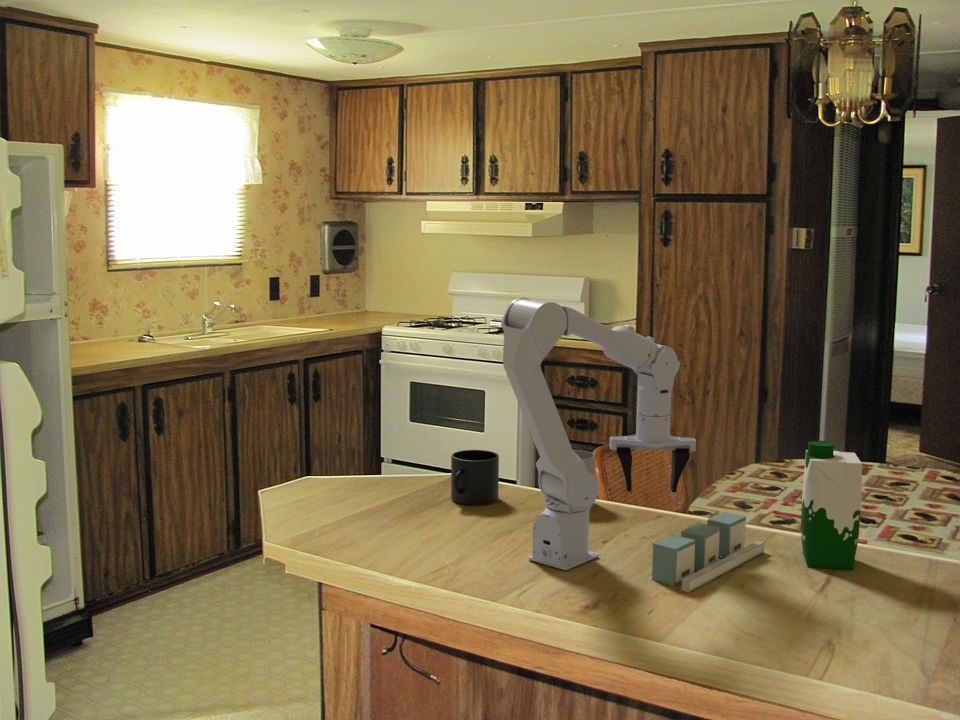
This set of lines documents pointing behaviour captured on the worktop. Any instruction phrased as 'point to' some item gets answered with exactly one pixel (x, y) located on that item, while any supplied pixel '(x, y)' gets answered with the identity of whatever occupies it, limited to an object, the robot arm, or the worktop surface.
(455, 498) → the mug
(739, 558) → the rail
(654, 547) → the tea box
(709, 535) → the tea box
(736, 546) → the tea box
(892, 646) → the worktop surface
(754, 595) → the worktop surface
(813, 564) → the milk carton
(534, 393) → the robot arm
